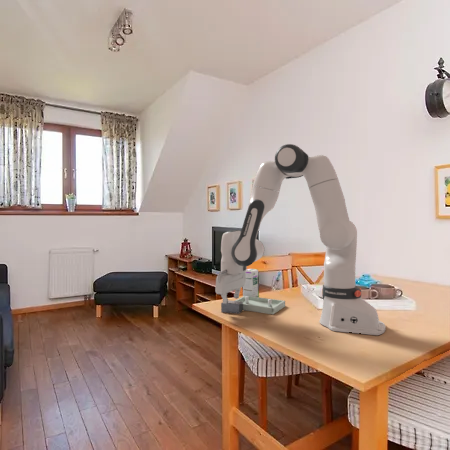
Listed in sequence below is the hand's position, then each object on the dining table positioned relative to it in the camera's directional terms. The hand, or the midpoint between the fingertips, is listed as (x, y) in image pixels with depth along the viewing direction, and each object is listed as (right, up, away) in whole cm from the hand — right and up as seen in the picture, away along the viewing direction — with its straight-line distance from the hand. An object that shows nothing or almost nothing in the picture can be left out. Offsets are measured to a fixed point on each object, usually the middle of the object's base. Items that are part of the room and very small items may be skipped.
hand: (231, 300), depth 140 cm
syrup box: (+10, -4, +20) cm, 23 cm away
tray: (+12, -4, +6) cm, 14 cm away
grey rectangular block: (+1, -5, 0) cm, 5 cm away
